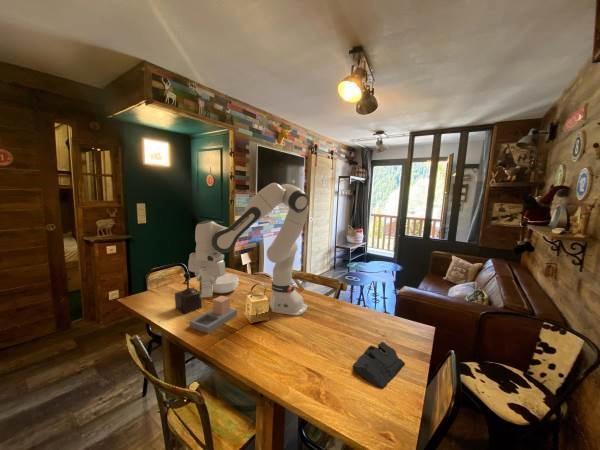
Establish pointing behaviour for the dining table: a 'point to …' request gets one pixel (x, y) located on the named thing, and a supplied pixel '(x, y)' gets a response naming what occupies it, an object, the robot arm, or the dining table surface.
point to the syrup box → (205, 283)
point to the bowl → (225, 283)
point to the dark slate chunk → (379, 364)
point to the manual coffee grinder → (188, 298)
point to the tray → (214, 315)
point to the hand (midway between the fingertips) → (206, 282)
